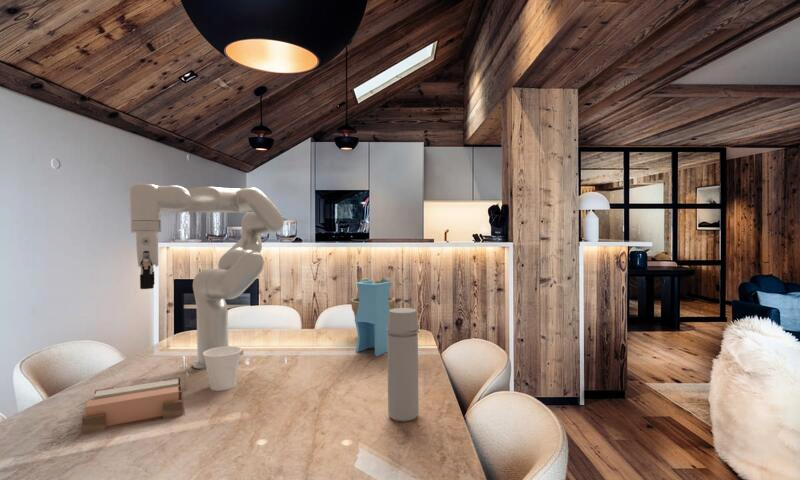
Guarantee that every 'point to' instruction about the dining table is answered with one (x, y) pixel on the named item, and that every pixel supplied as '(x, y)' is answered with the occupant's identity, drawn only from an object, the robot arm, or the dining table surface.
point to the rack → (99, 421)
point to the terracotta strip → (132, 405)
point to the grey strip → (136, 389)
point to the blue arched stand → (372, 316)
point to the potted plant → (386, 279)
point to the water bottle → (402, 364)
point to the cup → (222, 367)
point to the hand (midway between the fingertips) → (147, 286)
